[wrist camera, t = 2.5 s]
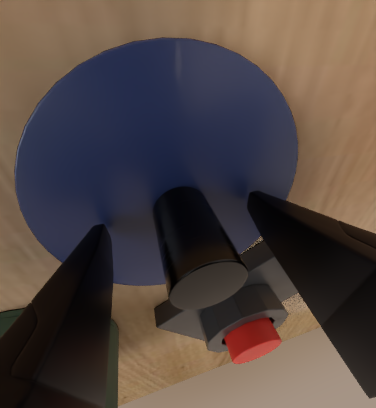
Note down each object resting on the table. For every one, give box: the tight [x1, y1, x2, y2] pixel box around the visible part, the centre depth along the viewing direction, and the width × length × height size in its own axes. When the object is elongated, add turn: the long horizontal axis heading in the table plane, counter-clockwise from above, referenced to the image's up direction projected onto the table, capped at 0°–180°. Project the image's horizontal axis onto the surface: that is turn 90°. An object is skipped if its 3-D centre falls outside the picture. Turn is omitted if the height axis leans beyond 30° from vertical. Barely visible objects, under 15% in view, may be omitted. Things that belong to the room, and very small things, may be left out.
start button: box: [224, 318, 282, 364], centre depth 15 cm, size 4×4×2 cm
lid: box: [14, 38, 298, 310], centre depth 8 cm, size 12×12×5 cm
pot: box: [0, 309, 119, 408], centre depth 12 cm, size 11×11×6 cm
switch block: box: [154, 241, 299, 352], centre depth 17 cm, size 9×11×4 cm
